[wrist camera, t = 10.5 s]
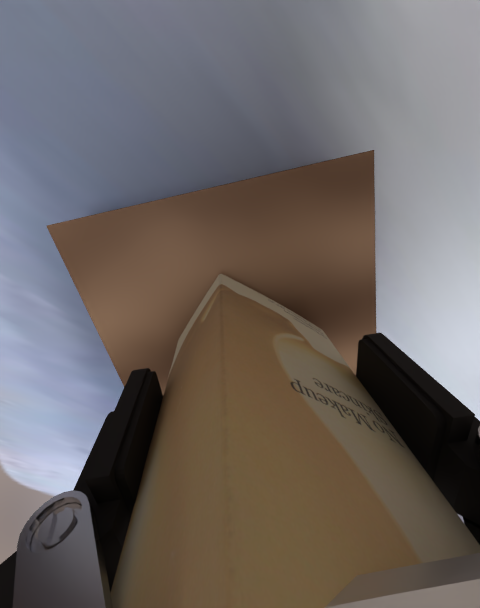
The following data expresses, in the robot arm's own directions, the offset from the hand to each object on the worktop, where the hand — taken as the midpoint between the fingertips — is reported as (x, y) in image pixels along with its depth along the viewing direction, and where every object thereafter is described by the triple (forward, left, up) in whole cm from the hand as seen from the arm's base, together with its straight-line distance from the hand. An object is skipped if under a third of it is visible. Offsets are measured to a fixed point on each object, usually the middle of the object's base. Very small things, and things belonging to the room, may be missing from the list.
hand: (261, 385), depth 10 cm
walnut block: (0, 0, -10) cm, 10 cm away
